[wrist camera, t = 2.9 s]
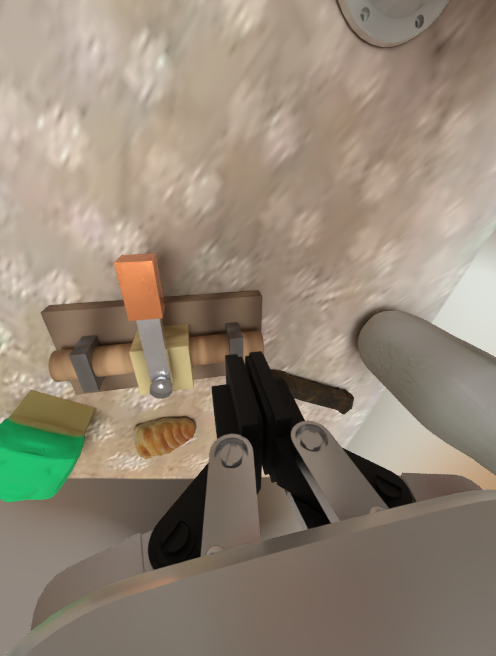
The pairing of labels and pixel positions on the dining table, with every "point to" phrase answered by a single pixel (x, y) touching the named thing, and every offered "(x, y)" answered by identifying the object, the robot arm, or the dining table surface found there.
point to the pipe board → (173, 313)
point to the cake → (40, 446)
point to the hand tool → (317, 393)
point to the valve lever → (147, 315)
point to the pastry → (162, 435)
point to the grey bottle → (436, 380)
